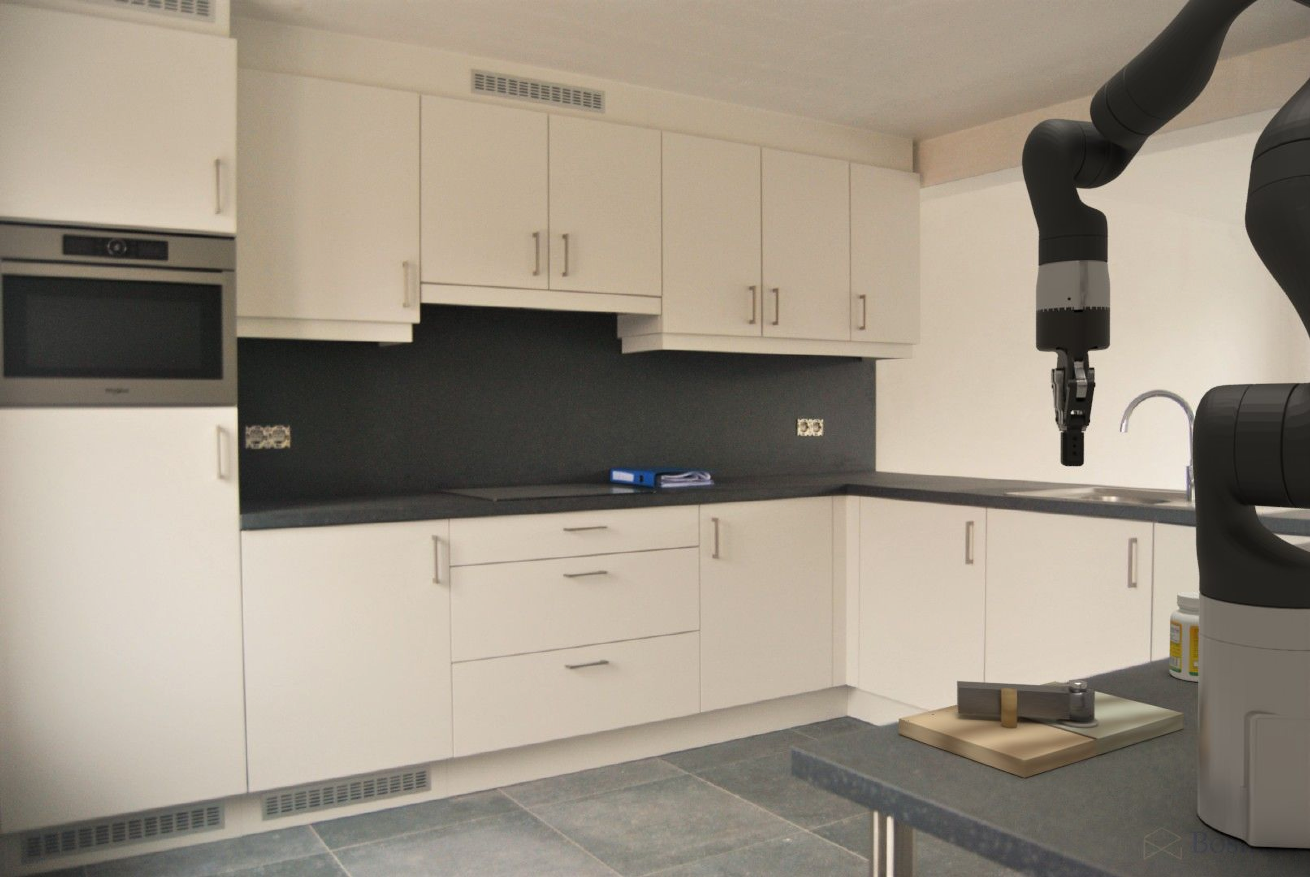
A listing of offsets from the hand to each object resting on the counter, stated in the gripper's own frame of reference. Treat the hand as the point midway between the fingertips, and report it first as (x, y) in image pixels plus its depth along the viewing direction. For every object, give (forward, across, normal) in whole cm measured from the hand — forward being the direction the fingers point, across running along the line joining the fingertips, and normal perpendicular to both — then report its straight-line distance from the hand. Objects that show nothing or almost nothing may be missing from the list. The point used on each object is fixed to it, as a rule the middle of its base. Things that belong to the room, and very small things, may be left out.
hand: (1072, 465), depth 115 cm
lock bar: (+23, +16, -7) cm, 29 cm away
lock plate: (+25, +15, -5) cm, 29 cm away
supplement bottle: (+25, -10, +15) cm, 31 cm away
